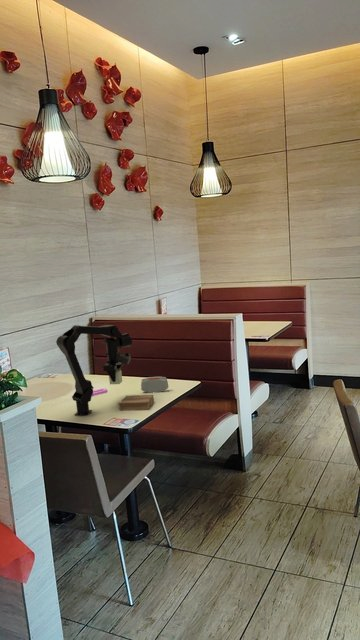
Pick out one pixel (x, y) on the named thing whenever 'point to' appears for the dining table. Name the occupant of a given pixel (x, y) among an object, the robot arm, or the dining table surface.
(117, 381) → the sage cube
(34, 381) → the dining table surface
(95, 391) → the bracket
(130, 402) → the walnut block
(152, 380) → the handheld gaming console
